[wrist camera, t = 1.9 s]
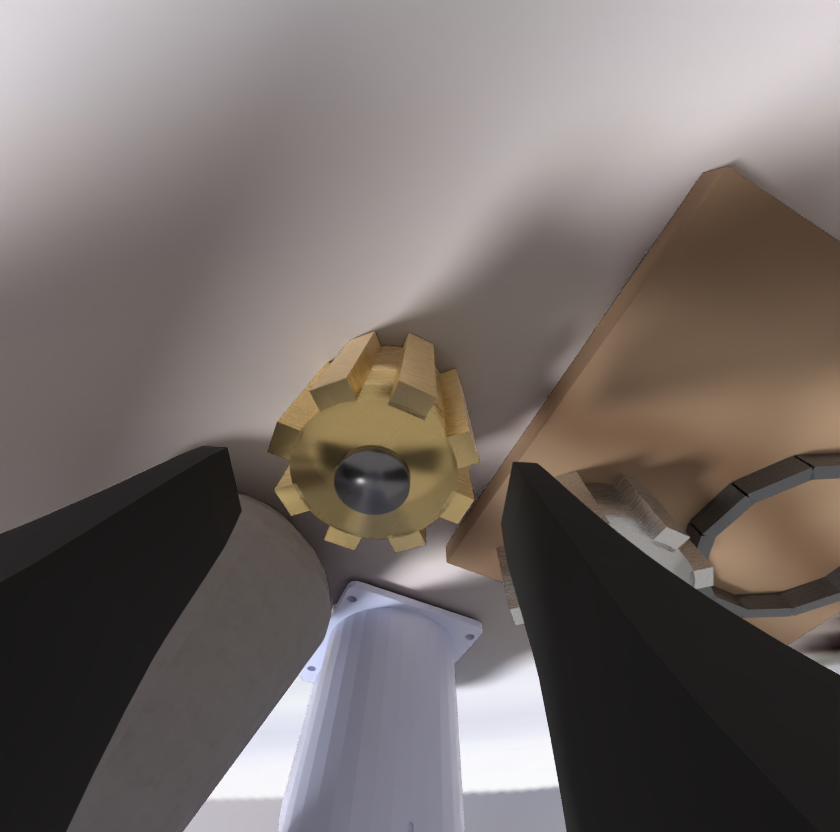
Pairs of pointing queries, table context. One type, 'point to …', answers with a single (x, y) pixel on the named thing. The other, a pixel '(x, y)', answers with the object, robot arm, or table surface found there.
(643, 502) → the sun gear
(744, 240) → the carrier plate
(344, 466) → the planet gear
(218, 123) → the table surface
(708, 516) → the ring
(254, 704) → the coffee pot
